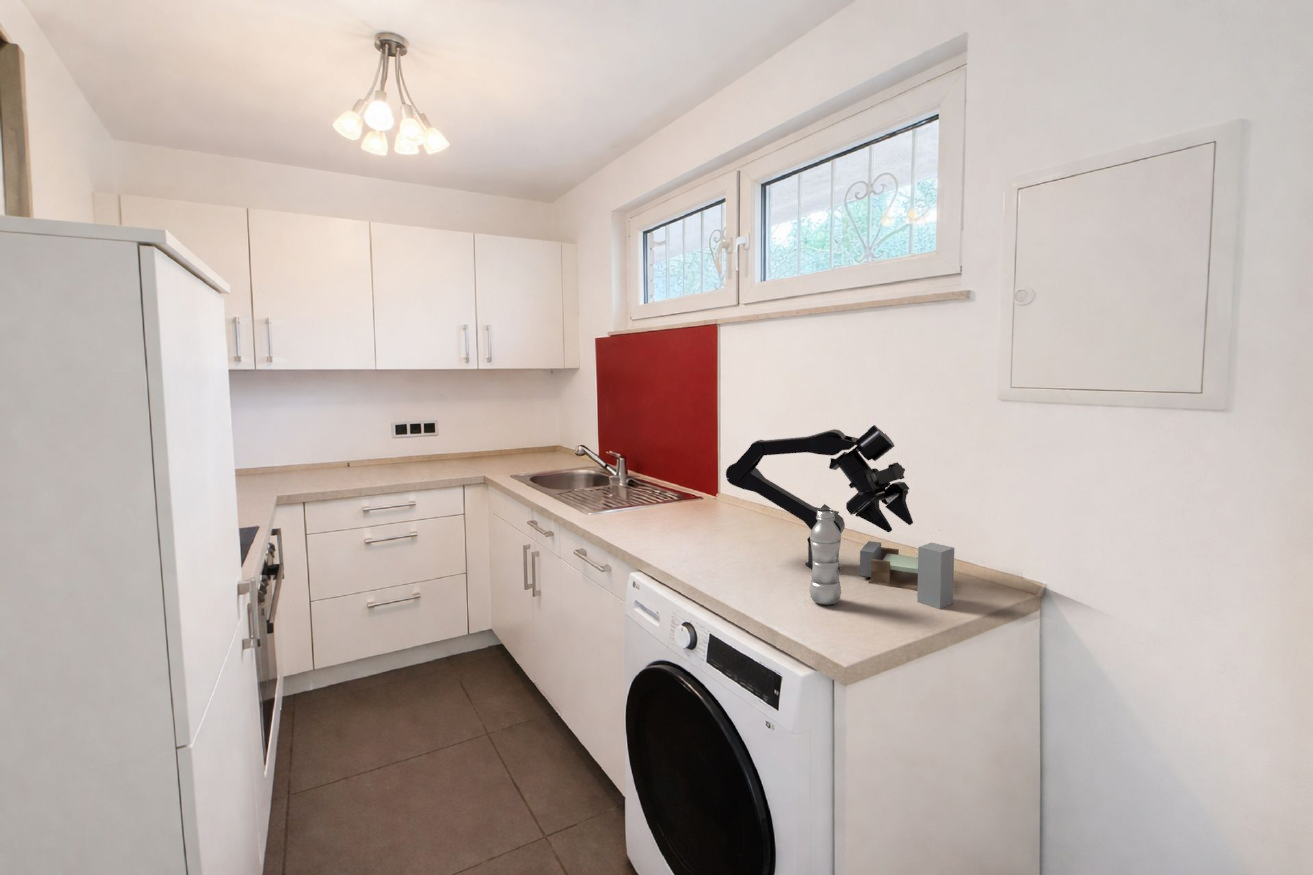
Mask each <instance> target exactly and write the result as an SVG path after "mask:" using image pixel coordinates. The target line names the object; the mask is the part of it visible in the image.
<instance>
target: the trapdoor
mask: <svg viewBox="0 0 1313 875" xmlns="http://www.w3.org/2000/svg"><path fill="white" fill-rule="evenodd" d="M881 547H882V542H880V541H871V540H868V541H867V542H866V543H865V544H864V545H863V547H862V548H861V549H860V550H859V551H860V552H859V576H861V577H867V578H871V560H872V559H876V560H881ZM883 560H884V561H890V570H897V571H904V572H912V573H918V556H912V555H911V556H910V555H902V554H899V555H896V554H890V553H887V554H886V556H885V557H884V559H883Z"/></svg>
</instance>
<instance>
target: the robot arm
mask: <svg viewBox="0 0 1313 875" xmlns="http://www.w3.org/2000/svg"><path fill="white" fill-rule="evenodd" d="M894 447H896V446H895V443H894V441H892V439H891V438H890V437H889V435H887V433H884V432H883V431H882V430H881V429H880V428H878V427H877V425H875V424H874V425H872V426H871V427H870V428H868V429H867V430H866V432H865V433H863V435H861V436H860V437H855V436H848V435H845V433H844V432H843V431H842V430H840V429H830V430H825V431H823V432H818V433H816V434H812V435H808V436H799V437H798V436H797V437H788V438H778V439H776V438H775V439H759V440H756V441H754V442H752V443H751V444H750V445H749V447H748V449H747V450H746V451H745V452H744V453H743V454H742V455H741V457H739V459H738V460H737V461H736V462H734V463H732V464H730V465H729V466H728V467H727V468H726V470H725V478H726V481H727V482H728V483H729V484H730V485H731V486H734V487H737V488H739V489H742V490H746V491H750V492H754V493H756V494H758V495H759V496H761V497H763V498H764V499H766V500H768V501H769V502H771V503H773V504H775V505H776V506H777V507H780V509H783V510H785V511H786V512H787V513H790V514H791V515H793V516H794V517H796V518H798V519H799V520H801V521H803V522H804V523H805V525H806V526H807V527H808V528H809V529H810V531H811V530H812V528H813V527H814V525H815V524H816V523H817V521H818V520H817V519H816V516H817V510H819V509H832V508H831V507H829V506H828V505H827V504H825V503H824V504H823V505H822V506H821V507H818V506H817V507H816V506H813V505H811V504H810V503H808V502H806V501H805V500H803V499H801V498H800V497H799V496H798V497H797V496H796V495H794V494H793V493H791V492H789V491H787V490H786V489H785V488H782V487H781V486H779V485H778V484H777V483H774V482H773V481H771V480H769V479H768V478H766V477H765V475H763V473H762V472H761V471H760V470H759V469H758V468H757V466H758V465H759V464H760V462H761V461H762V459H763V457H764V456H775V455H776V456H777V455H788V454H801V453H802V454H803V453H807V454H808V453H811V454H814V455H815V454H816V455H822V456H836V455H838V454H839V453H840V452H842V451H844V452H842V453H840V455H839V456H838V457H836V458H833V457H830V463H829V466H828V468H829V470H832V471H837V470H838V469H840V470H841V471H842V473H843V474H844V476H845V477H846V478H847V479H848V480H849V482H850V483H849V484H848V486H849V488H850V489H855V490H856V491H857V493H856V494H854V495H853V496H852V497H851V498H850V499H849V500H848V501H847V502H846V505H845V508H846V510H847V511H848V513H849V514H850V515H851V516H853V515H855V517H857V518H858V517H859V518H860V519H863V520H865V521H867V522H869V523H870V524H873V525H874V526H876V527H877V528H879V529H882V530H884V531H885V532H887V533H891V532H892V531H893V528H892V526H891V524H890V522H889V521H888V519H887V518H886V516H885V514H884V513H883V512H882V510H881V508H880V502H881V503H883V504H884V505H885V508H886V509H888V511H889V512H891V513H892V514H893V515H895V516H896V517H898V519H900V520H901V521H903V522H904V523H905V524H906V525H908V526H911V525H912V524H914V520H913V517H912V515H911V512H910V510H909V508H908V504H907V495H909V490H910V487H909V486H908V484H906V482H904V481H898V480H902V479H903V480H904V479H905V476H904V474H905V472H906V468H904V467H903V465H901V464H900V463H898V462H894V463H890V464H888V467H886V468H885V469H882V470H881V469H880V470H879V469H878V468H872V467H871V466H870V465H869V464H868V462H870V461H871V460H873V461H874V462H876V461H878V460H879V459H880V458H882V457H883V456H884V455H886V454H887V453H888V452H889V451H891V450H892V449H893V448H894ZM852 448H853V449H852ZM849 450H850V451H849ZM846 451H848V452H846ZM864 458H865V459H864ZM867 461H868V462H867ZM895 481H896V482H895ZM891 482H893V483H891ZM834 512H835V520H834V523H835V525H836V526H837V527H838V529H839V531H840V534H841V535H842V533H843V532H844V530H845V526H846V525H845V520H844V518H843V517H842V516H841V515H840V514H839V513H840V511H838V510H834ZM806 540H807V542H808V546H807V549H808V551H807V554H808V558H807V560H808V561H806V562H805V564H804V565H805V566H806V567H808V568H809V569H811V570H812V568H813V559H812V548H811V541H810V535H809V536H808V538H807V539H806ZM839 560H840V559H839ZM839 560H838V571H841V567H839V564H840V563H839Z"/></svg>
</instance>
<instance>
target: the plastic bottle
mask: <svg viewBox="0 0 1313 875" xmlns="http://www.w3.org/2000/svg"><path fill="white" fill-rule="evenodd" d="M834 511H835V510H834V509H832V508H831V509H819V510H817V516H816V519H817V520H818V521H817V523H816V524H815V525H814V527H813V528H812V530H811V529H810V533H809V536H810V541H811V548H812V559H813V568H812V569H811V580H810V585H809V594H810V598H811V599H812V601H813V602H814V603H816V604H819V605H824V606H825V605H826V606H829V605H830V606H831V605H835V604H838V602H839V601H840V599H841V595H842V589H841V588H842V586H841V583H840V573H839V571H840V570H838V567H839V565H838V560H840V559H839V557H840V556H839V555H840V550H841V549H840V548H841V543H842V542H841V540H842V533H841V534H840V531H839V529H838V527H837V526H836V525H835V523H834V520H835V512H834Z"/></svg>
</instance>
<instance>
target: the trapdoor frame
mask: <svg viewBox="0 0 1313 875" xmlns="http://www.w3.org/2000/svg"><path fill="white" fill-rule="evenodd" d="M899 551H900V549H898V548H891V547H884V546H881V560H876V559H872V560H871V577H869V580H868V584H872V585H873V584H874V585H881V586H885V587H893V588H900V589H906V590H912V591H918V573H912V572H904V571H897V570H890V561H884V560H883V559H884V557H885V556H886V554H887V553H890V554H896V555H900V554H899V553H900V552H899Z"/></svg>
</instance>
